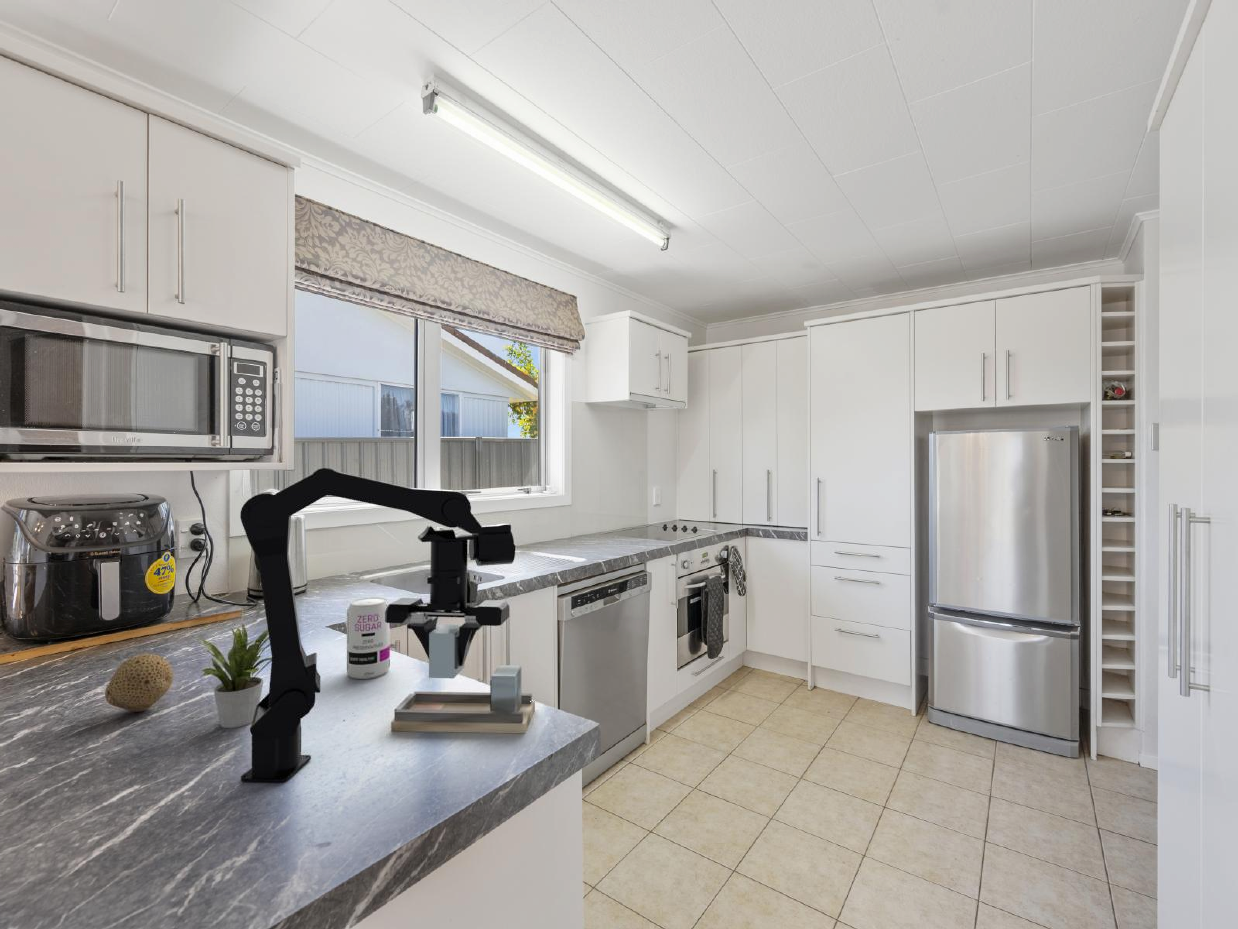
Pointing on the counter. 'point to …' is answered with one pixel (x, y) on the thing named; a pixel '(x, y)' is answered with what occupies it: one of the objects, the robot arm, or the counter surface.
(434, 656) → the block
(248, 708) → the house plant
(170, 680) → the natural sponge
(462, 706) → the rail plate
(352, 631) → the supplement can
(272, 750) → the robot arm
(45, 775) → the counter surface
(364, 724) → the counter surface
